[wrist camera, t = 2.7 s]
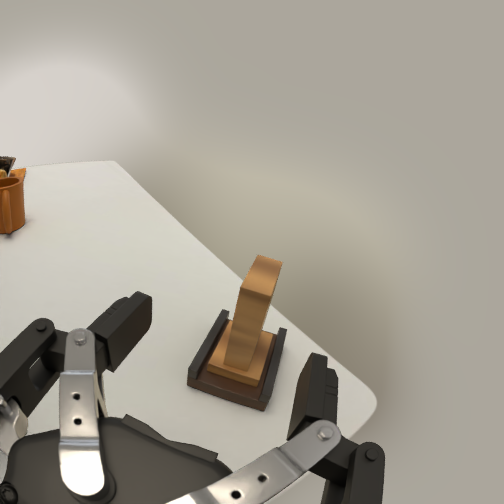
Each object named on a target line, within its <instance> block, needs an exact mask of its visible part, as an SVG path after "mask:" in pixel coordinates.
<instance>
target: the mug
mask: <svg viewBox="0 0 504 504" xmlns="http://www.w3.org/2000/svg"><path fill="white" fill-rule="evenodd" d="M24 224H25V211H24V192H23V178H21V177H5V178H0V234H1V233H8V234H10V233H11V232H12V231H15V230H17V229H19V228H21V227H22V226H23V225H24Z"/></svg>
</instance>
